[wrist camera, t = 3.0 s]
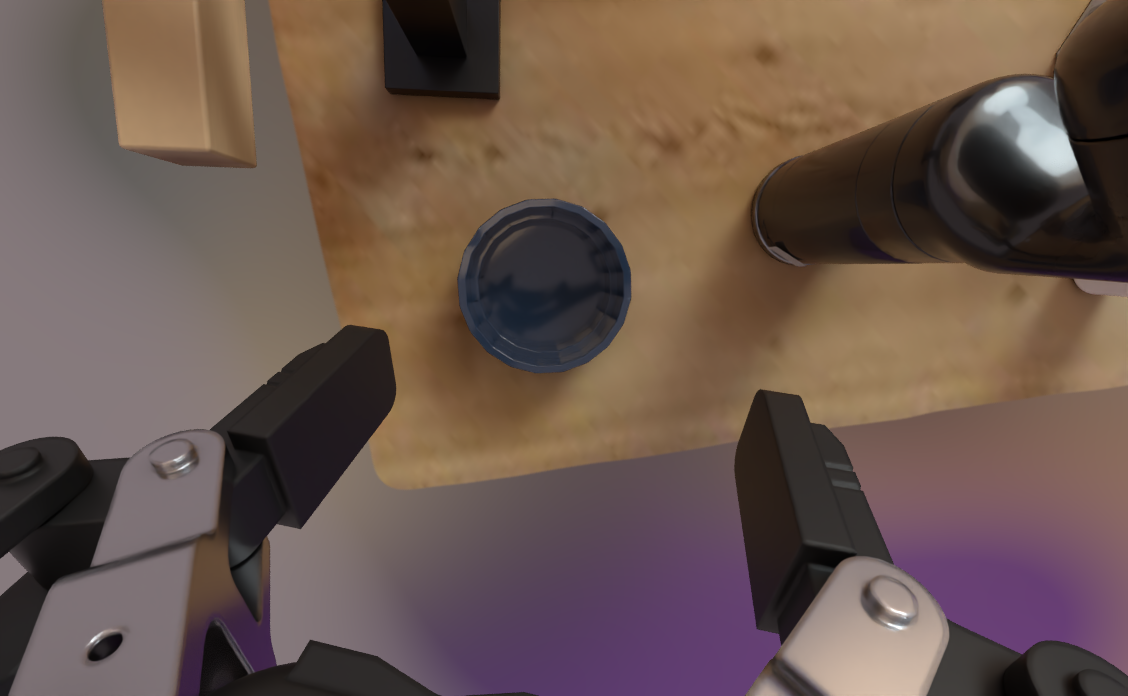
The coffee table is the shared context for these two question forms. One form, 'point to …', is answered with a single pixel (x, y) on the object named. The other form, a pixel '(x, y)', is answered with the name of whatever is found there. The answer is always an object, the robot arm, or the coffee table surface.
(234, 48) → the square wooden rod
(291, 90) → the coffee table surface
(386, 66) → the headphone stand
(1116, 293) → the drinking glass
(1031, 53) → the coffee table surface
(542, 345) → the bowl
